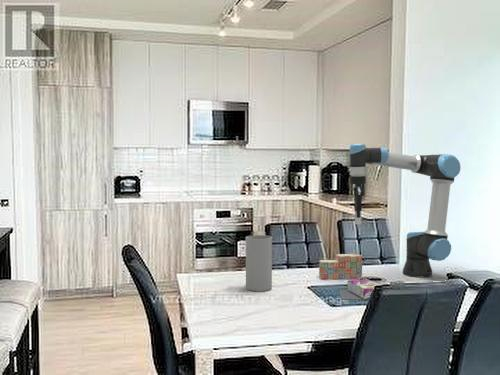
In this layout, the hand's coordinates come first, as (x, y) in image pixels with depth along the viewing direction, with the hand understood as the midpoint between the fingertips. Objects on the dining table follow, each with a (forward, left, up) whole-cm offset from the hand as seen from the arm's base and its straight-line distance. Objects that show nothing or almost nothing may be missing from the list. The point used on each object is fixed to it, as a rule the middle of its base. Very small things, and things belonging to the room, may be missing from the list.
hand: (358, 224), depth 248 cm
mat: (+2, +18, -31) cm, 35 cm away
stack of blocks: (+7, -16, -31) cm, 36 cm away
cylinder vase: (+48, +9, -31) cm, 58 cm away
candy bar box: (+1, +9, -28) cm, 29 cm away
